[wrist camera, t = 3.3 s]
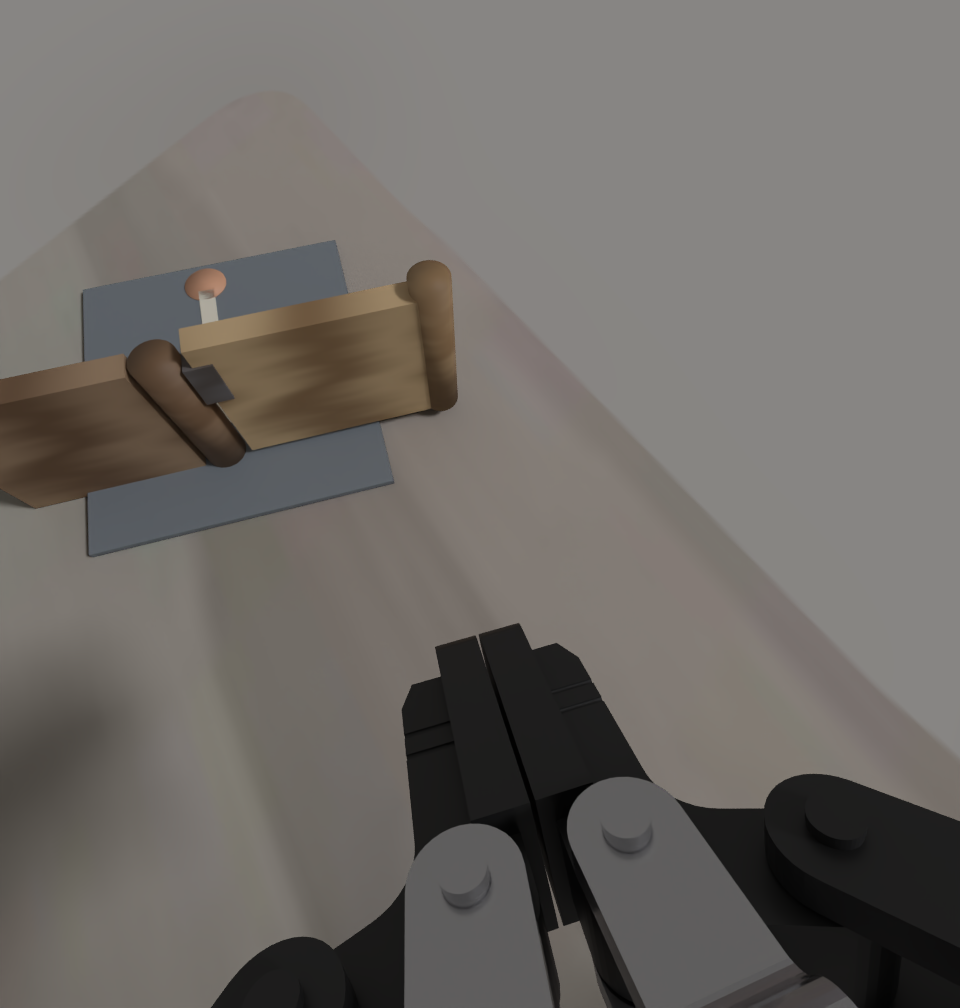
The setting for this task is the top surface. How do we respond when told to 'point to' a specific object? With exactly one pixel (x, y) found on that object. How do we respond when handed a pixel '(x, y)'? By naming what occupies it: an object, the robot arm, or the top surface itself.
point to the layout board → (260, 473)
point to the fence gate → (330, 360)
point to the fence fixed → (107, 426)
